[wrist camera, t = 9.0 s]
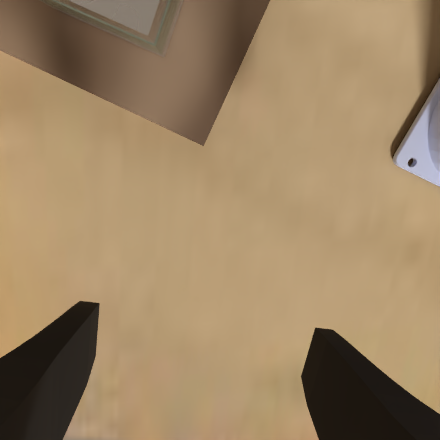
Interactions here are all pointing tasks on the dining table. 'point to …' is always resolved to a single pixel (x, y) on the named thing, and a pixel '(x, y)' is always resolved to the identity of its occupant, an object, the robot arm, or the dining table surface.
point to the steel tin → (127, 19)
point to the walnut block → (141, 58)
